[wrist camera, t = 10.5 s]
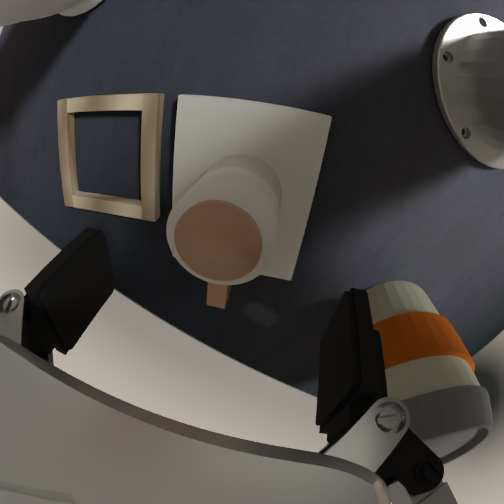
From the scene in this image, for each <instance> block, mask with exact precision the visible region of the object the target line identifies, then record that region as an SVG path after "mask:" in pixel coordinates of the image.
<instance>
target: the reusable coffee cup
mask: <svg viewBox="0 0 504 504" xmlns="http://www.w3.org/2000/svg"><path fill="white" fill-rule="evenodd" d="M365 291H367V293H368V297H369V303H370V309H371V315H372V322H373V328H374V330H378V331H379V333H380V336H381V343H382V350H383V357H384V365H385V374H386V383H387V393H388V397H392V398H396V399H398V400H399V401H401V402H402V403H403V404H404V405H405V406H406V407H407V409H408V411H409V414H410V425H409V427H408V428H409V429H410V430H411V431H412V432H413V433H414V434H415V435H417V436H418V437H419V438H420V439H421V440H422V441H423V442H424V443H425V444H426V445H427V446H428V447H429V448H430V449H431V450H432V451H433V452H434V453H435V454H436V455H437V456H438V457H439V458H440V459H441V461H442V463H443V465H444V464H447V463H449V462H451V461H453V460H455V459H457V458H459V457H461V456H462V455H464V454H466V453H468V452H470V451H471V450H473V449H474V448H476V447H477V446H479V445H480V444H481V443H483V442H484V441H485V440H486V439H487V438H488V437H489V436H490V435H491V434H492V432H493V429H494V424H493V417H492V410H491V404H490V399H489V394H488V392H487V390H486V389H485V388H483V387H481V386H480V384H479V382H478V380H477V379H476V377H475V375H474V370H475V366H474V361H473V360H472V358H471V356H470V354H469V353H468V351H467V349H466V348H465V346H464V344H463V342H462V341H461V339H460V337H459V336H458V334H457V333H456V331H455V329H454V328H453V326H452V325H451V323H450V322H449V321H448V320H447V319H446V318H444V317H443V316H441V315H439V313H438V311H437V310H436V308H435V307H434V305H433V304H432V302H431V301H430V299H429V298H428V296H427V295H426V293H425V292H424V291H423V290H422V288H420V287H419V286H417V285H416V284H413V283H411V282H407V281H389V282H384V283H381V284H378V285H375V286H373V287H371V288H369V289H367V290H365ZM328 443H329V442H328Z"/></svg>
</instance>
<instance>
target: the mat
mask: <svg viewBox="0 0 504 504" xmlns="http://www.w3.org/2000/svg"><path fill="white" fill-rule="evenodd" d="M331 119H332V117H331V116H329V115H325V114H321V113H316V112H312V111H307V110H303V109H298V108H293V107H287V106H282V105H276V104H270V103H264V102H258V101H250V100H243V99H235V98H226V97H215V96H203V95H187V94H182V95H178V105H177V117H176V130H175V145H174V164H173V194H172V208H173V207H174V206H175V204H176V203H177V202H178V201H179V200H180V199H181V198H182V197H183V195H184V194H185V193H186V192H187V191H188V190H189V189H190V188H191V187H192V186H193V185H194V184H195V183H196V182H197V181H198V180H199V179H200V178H201V177H202V176H203V175H204V174H205V173H206V172H207V171H208V170H209V169H210V168H211V167H212V166H213V165H214V164H215V163H216V162H218V161H219V160H221V159H223V158H225V157H228V156H232V155H247V156H252V157H255V158H257V159H259V160H261V161H263V162H264V163H266V164H267V165H268V166H269V167H270V168H271V169H272V170H273V171H274V172H275V174H276V176H277V177H278V179H279V182H280V185H281V190H282V199H281V206H280V213H279V221H278V228H277V235H276V242H275V249H274V254H273V257H272V259H271V262H270V264H269V265H268V266H267V268H266V269H265V270H264V271H263V272H262V273H261V274H260V275H264V276H269V277H274V278H280V279H285V280H290V281H291V279H292V275H293V272H294V268H295V265H296V261H297V258H298V254H299V250H300V247H301V243H302V239H303V236H304V232H305V228H306V224H307V221H308V217H309V213H310V209H311V205H312V201H313V197H314V193H315V189H316V185H317V181H318V177H319V172H320V168H321V164H322V160H323V155H324V151H325V147H326V142H327V138H328V133H329V129H330V124H331ZM172 256H173V257H174V255H173V253H172Z"/></svg>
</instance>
